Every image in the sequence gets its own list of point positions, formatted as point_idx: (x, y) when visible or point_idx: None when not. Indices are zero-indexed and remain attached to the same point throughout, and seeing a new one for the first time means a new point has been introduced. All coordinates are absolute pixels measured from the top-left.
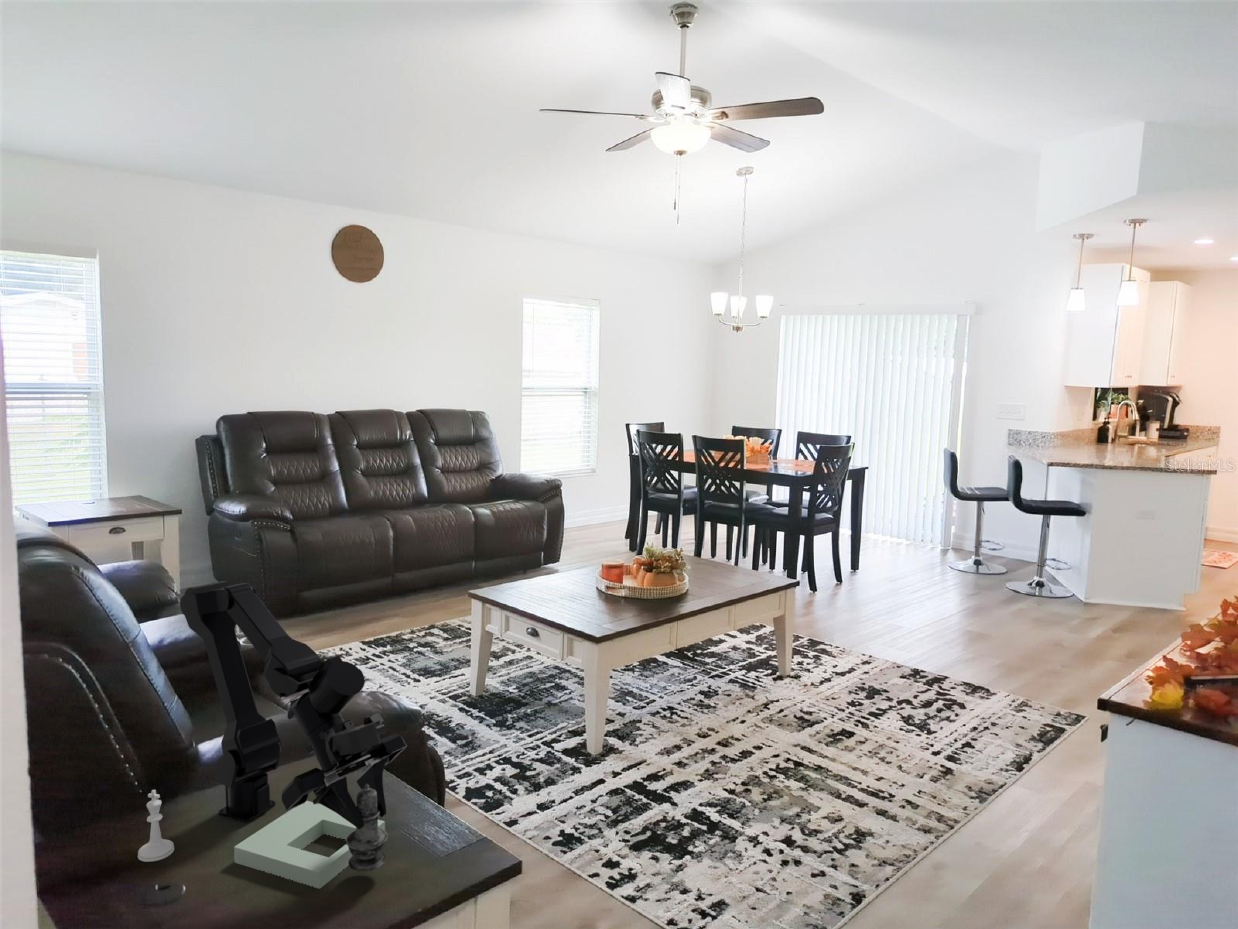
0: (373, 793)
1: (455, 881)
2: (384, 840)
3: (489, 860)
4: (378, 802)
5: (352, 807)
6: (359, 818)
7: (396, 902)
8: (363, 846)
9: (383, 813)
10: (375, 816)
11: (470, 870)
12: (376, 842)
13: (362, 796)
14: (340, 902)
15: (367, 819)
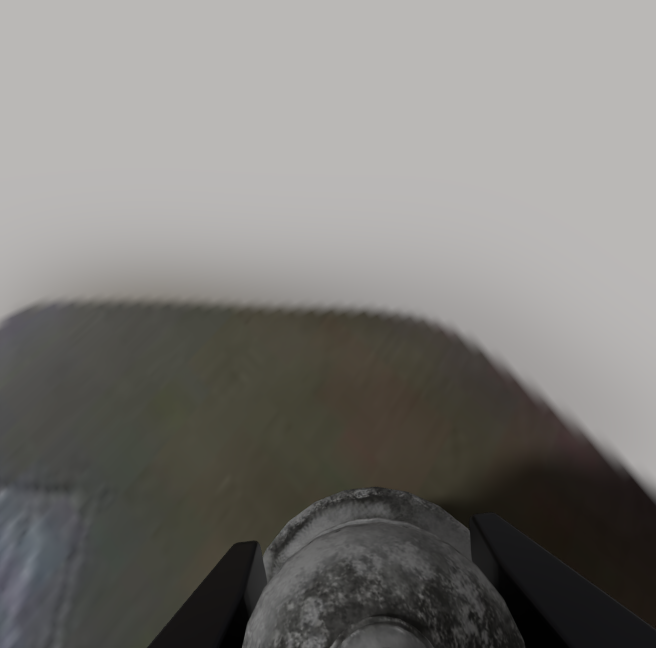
0: (334, 553)
1: (176, 333)
2: (317, 506)
3: (20, 347)
4: (236, 644)
5: (614, 635)
6: (517, 545)
7: (382, 375)
8: (450, 539)
9: (258, 550)
10: (354, 522)
11: (101, 347)
12: (368, 514)
13: (497, 612)
14: (549, 530)
15: (431, 533)
